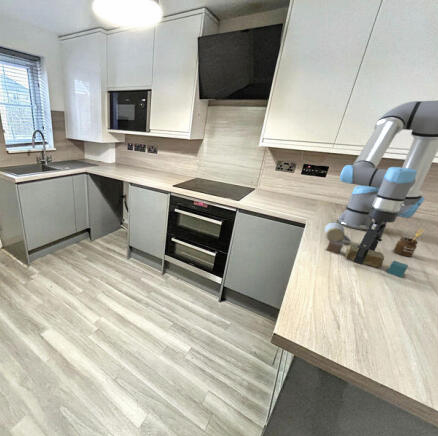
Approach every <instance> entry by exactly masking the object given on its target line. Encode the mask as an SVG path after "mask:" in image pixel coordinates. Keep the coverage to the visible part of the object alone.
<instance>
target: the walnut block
mask: <svg viewBox="0 0 438 436" xmlns="http://www.w3.org/2000/svg"><path fill="white" fill-rule="evenodd" d="M343 246H344V242H340V241H334V240H332V241H330V240H329V242H328V245H327V248H326V251H327V252H331V253H333V254H339V253H341V252H342V249H343Z"/></svg>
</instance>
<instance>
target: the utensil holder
mask: <svg viewBox="0 0 438 436" xmlns="http://www.w3.org/2000/svg"><path fill="white" fill-rule="evenodd" d="M424 231H425V230H424V229H421V228H420V229H419V230H418V231H417V232H416V233H415V237H414V238H412V237H408V235H406V236H405V234H406V233H408V230H405V232H403V234H402V235H403V236H402V237H400V238H399V240H398V241H397V242H396V244H395V246H394V248H393V252H394V253H395V254H397V255H399V256H403V257H412V256H413V255H414V253H415V251H416V249H417V245H418V240H416V239H417V238H419V237H421V235H422V234H423V232H424ZM409 234H410V235H412V232H411V231H409Z"/></svg>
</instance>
